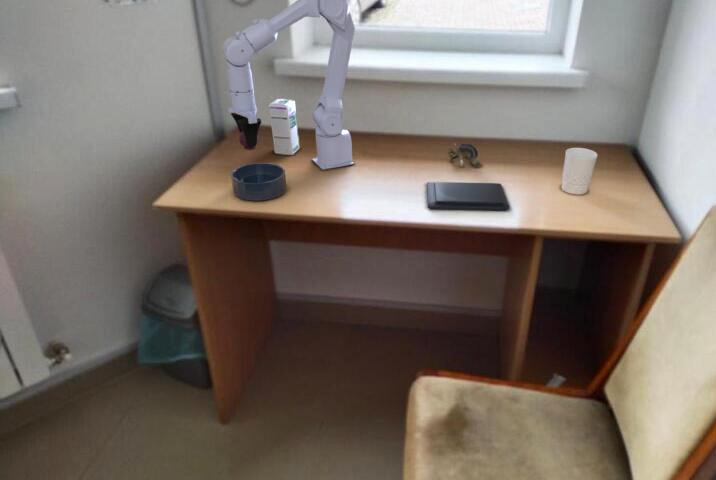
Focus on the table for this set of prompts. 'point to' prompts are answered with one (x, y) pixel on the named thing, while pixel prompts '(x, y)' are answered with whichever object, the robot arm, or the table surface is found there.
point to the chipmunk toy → (465, 154)
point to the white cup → (578, 170)
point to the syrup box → (284, 126)
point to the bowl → (258, 181)
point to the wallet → (466, 196)
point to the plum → (243, 142)
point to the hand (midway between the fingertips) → (249, 142)
